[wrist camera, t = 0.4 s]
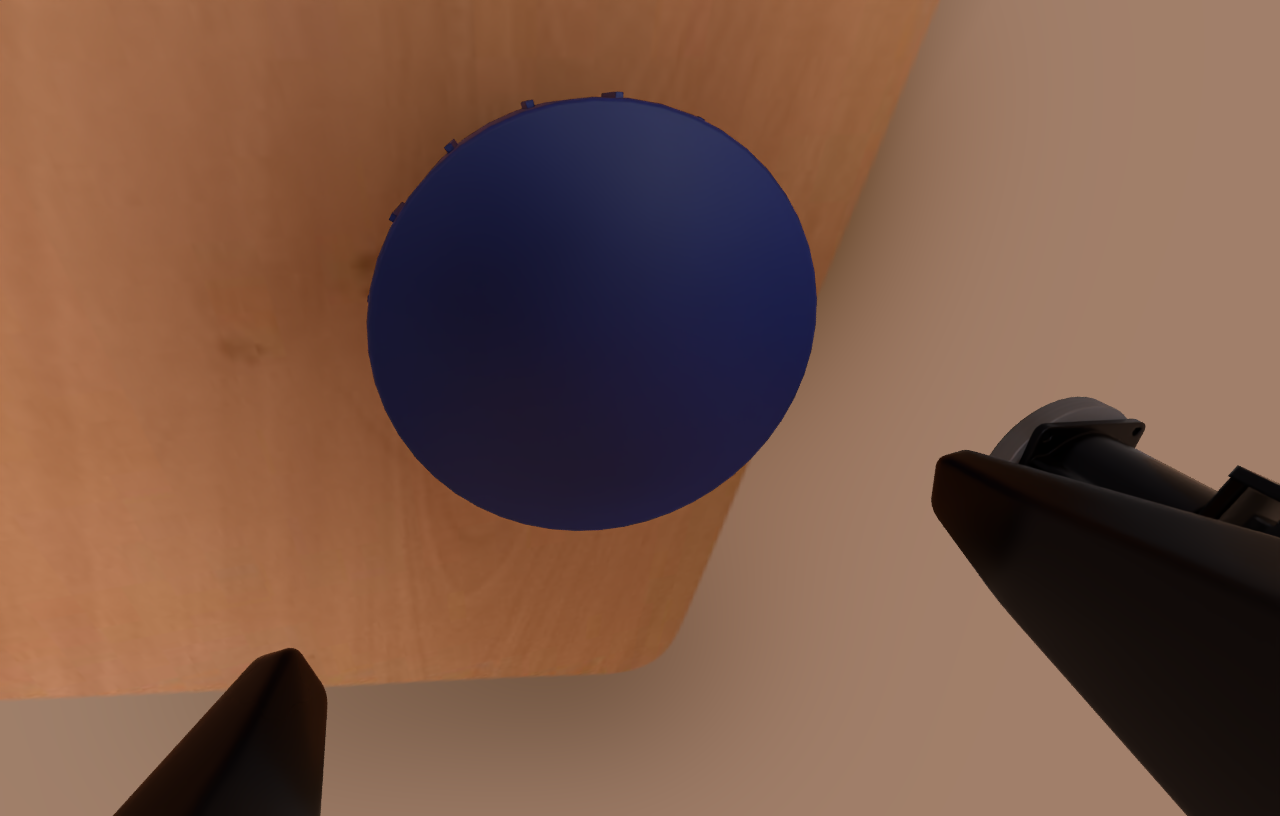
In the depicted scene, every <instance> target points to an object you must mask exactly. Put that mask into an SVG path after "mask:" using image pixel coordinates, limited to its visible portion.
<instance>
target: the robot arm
mask: <svg viewBox="0 0 1280 816" xmlns="http://www.w3.org/2000/svg"><path fill="white" fill-rule="evenodd" d="M1144 430H1145V424H1144V423H1143V422H1140V421H1138V420H1136V419H1117V420H1097V421H1076V422H1056V423H1043V424H1040V425H1039V426H1037V427H1036V428H1035V429H1034V431H1033V433H1032V435H1031V437H1030V439H1029V441H1028V444H1027V446H1026V448H1025V450H1024V453H1023V455H1022V457H1021V459H1020V462H1019V464H1017V463H1013V462H1010V461H1006V460H1003V459H999V458H995V457H992V456H988V455H985V454H981V453H978V452H974V451H970V450H962V451H958V452H955V453H951V454H948V455H945V456H942V457H941V458H940V459H939V460H938V462H937V464H936V469H935V476H934V483H933V491H932V498H931V502H932V507H933V510H934V513H935V514H936V516H937V518H938V519H939V521H940V522H941V523H942V525H943V526H944V528H945V529H946V530H947V532H948V533H949V534H950V536H951V537H952V539H953V540H954V541H955V543H956V544H957V545H958V547H959V548H960V550H961V551H962V552H963V554H964V555H965V556H966V558H967V559H968V561H969V562H970V563H971V564H972V566H973V567H974V569H975V570H976V572H977V573H978V574H979V576H980V577H981V578H982V580H983V581H984V582H985V584H986V585H987V587H988V588H989V589H990V591H991V592H992V593H993V595H994V596H995V597H996V598H997V600H998V601H999V602H1000V603H1001V605H1002V606H1003V607H1004V608H1005V609H1006V611H1007V612H1008V613H1009V614H1010V615H1011V617H1012V618H1013V619H1014V620H1015V621H1016V622H1017V623H1018V625H1019V626H1020V627H1021V628H1022V629H1023V630H1024V631H1025V632H1026V634H1028V636H1029V637H1030V638H1031V639H1032V640H1033V641H1034V643H1035V644H1036V645H1037V646H1038V647H1039V648H1040V649H1041V651H1042V652H1043V653H1044V654H1045V655H1046V656H1047V657H1048V659H1049V660H1050V661H1051V662H1052V663H1053V664H1054V665H1055V666H1056V668H1057V669H1058V670H1059V671H1060V672H1061V673H1062V674H1063V675H1064V677H1066V679H1067V680H1068V681H1069V682H1070V683H1071V685H1072V686H1073V687H1074V688H1075V689H1076V690H1077V691H1078V692H1079V694H1080V695H1081V696H1082V697H1083V698H1084V699H1085V700H1086V702H1087V703H1088V704H1089V705H1090V706H1091V707H1092V708H1093V710H1094V711H1095V712H1096V713H1097V714H1098V715H1099V716H1100V717H1101V718H1102V720H1103V721H1104V722H1105V723H1106V724H1107V725H1108V727H1109V728H1110V729H1111V730H1112V731H1113V732H1114V733H1115V734H1116V736H1117V737H1118V738H1119V739H1120V740H1121V741H1122V742H1123V744H1124V745H1125V746H1126V747H1127V748H1128V749H1129V750H1130V751H1131V753H1132V754H1133V755H1134V756H1135V757H1136V758H1137V759H1138V761H1140V763H1141V764H1142V765H1143V766H1144V767H1145V768H1146V770H1147V771H1148V772H1149V773H1150V774H1151V775H1152V776H1153V778H1154V779H1155V780H1156V781H1157V782H1158V783H1159V784H1160V785H1161V787H1162V788H1163V789H1164V790H1165V791H1166V792H1167V793H1168V795H1169V796H1170V797H1171V798H1172V799H1173V800H1174V801H1175V802H1176V804H1177V805H1178V806H1179V807H1180V808H1181V809H1182V810H1183V812H1184V813H1185V814H1186V815H1187V816H1280V484H1279V483H1277V482H1274V481H1272V480H1270V479H1268V478H1265V477H1263V476H1261V475H1259V474H1256V473H1254V472H1252V471H1249V470H1247V469H1245V468H1243V467H1241V466H1237V467H1236V468H1235V469H1234V470H1233V471H1232V472H1231V473H1230V474H1229V475H1228V476H1229V477H1230V479H1229V480H1228V481H1227V482H1226V483H1225V484H1224V485H1223V486H1222V487H1221V488H1220V489H1219V491H1216V490H1214V489H1212V488H1210V487H1208V486H1206V485H1204V484H1202V483H1200V482H1199V481H1196V480H1195V479H1193V478H1191V477H1189V476H1187V475H1185V474H1183V473H1181V472H1179V471H1177V470H1176V469H1174V468H1172V467H1170V466H1168V465H1166V464H1164V463H1162V462H1160V461H1158V460H1156V459H1154V458H1152V457H1151V456H1149V455H1147V454H1145V453H1143V452H1141V451H1139V450H1137V449H1135V447H1136V445H1137V443H1138V441H1139V439H1140V438H1141V436H1142V434H1143V432H1144ZM326 720H327V696H326V691H325V689H324V686H323V685H322V683H321V681H320V680H319V679H318V677H317V676H316V674H315V673H314V671H313V670H312V668H311V667H310V665H309V664H308V662H307V661H306V660H305V658H304V657H303V655H302V654H301V653H300V652H299V651H298V650H296V649H294V648H287V649H283V650H280V651H277V652H273V653H270V654H266V655H263V656H261V657H259V658H257V659H256V660H254V661H253V662H252V663H251V664H250V665H249V667H248V668H247V669H246V670H245V671H244V672H243V673H242V674H241V675H240V676H239V678H238V679H237V680H236V681H235V682H234V683H233V684H232V685H231V686H230V687H229V689H228V690H227V691H226V692H225V693H224V694H223V695H222V696H221V697H220V698H219V700H218V701H217V702H216V703H215V704H214V705H213V706H212V707H211V708H210V709H209V710H208V712H207V713H206V714H205V715H204V716H203V717H202V718H201V719H200V720H199V722H198V723H197V724H196V725H195V726H194V727H193V728H192V729H191V730H190V731H189V732H188V734H187V735H186V736H185V737H184V738H183V739H182V740H181V741H180V743H179V744H178V745H177V746H176V747H175V748H174V749H173V750H172V751H171V752H170V753H169V755H168V756H167V757H166V758H165V759H164V760H163V761H162V762H161V763H160V764H159V765H158V767H157V768H156V769H155V770H154V771H153V772H152V773H151V774H150V775H149V777H148V778H147V779H146V780H145V781H144V782H143V783H142V784H141V785H140V786H139V787H138V789H137V790H136V791H135V792H134V793H133V794H132V795H131V796H130V797H129V798H128V800H127V801H126V802H125V803H124V804H123V805H122V806H121V807H120V808H119V810H118V811H117V812H116V813H115V814H114V815H113V816H320V813H321V798H322V782H323V767H324V751H325V735H326Z"/></svg>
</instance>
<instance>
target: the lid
mask: <svg viewBox="0 0 1280 816" xmlns="http://www.w3.org/2000/svg"><path fill="white" fill-rule="evenodd" d="M521 106H522V109H520V110H516V111H514V112H512V113H509V114H507V115H505V116H503V117H501V118H498V119H496V120H494V121H492V122H489V123H488V124H486V125H484V126H483V127H481V128H480V129H478V130H477V131H475V132H474V133H472V134H471V135H469V136H467V137H466V138H464V139H463V140H462V141H461V142H459V143H457V142H456V141H455V140H454V139H453V140H452V141H450V142H449V143H448V144H447V145H446V146H445V147H444V148H445V150H446V151H447V152H448V153H447V154H446V155H445V156H444V157H442V158H441V159H440V160H439V161H438V163H437V164H436V165H435V166H434V167H433V168H432V170H431V171H430V172H429V173H428V174H427V176H426V177H425V178H424V179H423V180H422V182H421V183H420V184H419V185H418V186H417V188H416V189H415V190H414V191H413V192H412V194H411V195H410V196H409V197H408V199H407V200H406V202H405V203H403V202H401V204H400V205H399V206H398V207H397V208H396V209H395V210H394V212H393V213H392V214H391V216H390V218H389V220H390V221H392V222H393V223H392V225H391V227H390V229H389V232H388V234H387V236H386V239H385V241H384V244H383V246H382V248H381V251H380V253H379V256H378V258H377V262H376V266H375V270H374V274H373V278H372V282H371V286H370V290H369V295H368V300H367V302H368V312H367V337H368V353H369V358H370V363H371V367H372V372H373V377H374V382H375V385H376V387H377V390H378V393H379V395H380V398H381V401H382V403H383V406H384V409H385V411H386V413H387V415H388V416H389V418H390V420H391V422H392V424H393V426H394V427H395V429H396V431H397V433H398V435H399V436H400V437H401V439H402V440H403V441H404V443H405V444H406V445H407V447H408V448H409V449H410V451H411V452H412V453H413V455H414V456H415V457H416V459H417V460H418V461H419V462H420V463H421V464H422V465H423V466H424V467H425V468H426V469H427V470H428V471H429V472H430V473H431V474H432V475H433V476H434V477H435V478H437V479H438V480H439V481H440V482H442V483H443V484H444V485H446V486H447V487H448V488H449V489H451V490H452V491H453V492H454V493H456V494H457V495H459V496H461V497H463V498H464V499H466V500H468V501H469V502H471V503H473V504H474V505H476V506H478V507H480V508H482V509H484V510H487V511H489V512H491V513H493V514H496V515H498V516H500V517H503V518H506V519H510V520H513V521H516V522H519V523H523V524H526V525H531V526H537V527H542V528H548V529H557V530H571V531H585V530H603V529H611V528H618V527H625V526H629V525H633V524H637V523H641V522H645V521H649V520H652V519H654V518H657V517H660V516H663V515H666V514H668V513H671V512H673V511H675V510H678V509H680V508H682V507H684V506H686V505H688V504H690V503H692V502H694V501H696V500H697V499H699V498H701V497H702V496H704V495H706V494H707V493H709V492H711V491H712V490H714V489H715V488H717V487H718V486H719V485H721V484H722V483H723V482H725V481H726V480H727V479H729V478H730V477H731V476H733V475H734V474H735V473H736V472H737V471H738V470H739V469H740V468H742V467H743V466H744V465H745V464H746V463H747V462H748V461H749V460H750V459H751V458H752V457H753V456H754V455H755V454H756V453H757V451H758V450H759V449H760V448H761V447H762V446H763V445H764V444H765V442H766V441H767V440H768V439H769V437H770V436H771V435H772V433H773V432H774V430H775V429H776V428H777V426H778V425H779V423H780V422H781V421H782V419H783V417H784V415H785V414H786V412H787V410H788V408H789V407H790V405H791V403H792V401H793V399H794V397H795V395H796V393H797V390H798V388H799V386H800V383H801V381H802V379H803V376H804V373H805V370H806V367H807V363H808V360H809V356H810V353H811V349H812V343H813V337H814V331H815V325H816V305H817V296H816V283H815V272H814V267H813V263H812V258H811V254H810V249H809V245H808V242H807V239H806V237H805V234H804V231H803V228H802V226H801V223H800V220H799V218H798V216H797V214H796V212H795V210H794V209H793V207H792V205H791V203H790V201H789V199H788V197H787V195H786V194H785V192H784V191H783V190H782V188H781V187H780V185H779V184H778V183H777V181H776V180H775V179H774V177H773V176H772V175H771V173H770V172H769V171H768V169H767V168H766V167H765V166H764V165H763V164H762V163H761V162H760V161H759V160H758V159H757V158H756V157H755V156H754V155H753V154H752V153H751V152H750V151H749V150H748V149H747V148H745V147H744V146H743V145H741V144H740V143H739V142H737V141H736V140H734V139H733V138H732V137H730V136H729V135H728V134H726V133H725V132H724V131H722V130H721V129H719V128H717V127H715V126H713V125H711V124H709V123H707V122H706V121H705V120H704V119H703V118H701V117H699V116H694V115H692V114H689V113H686V112H683V111H680V110H677V109H674V108H672V107H669V106H666V105H663V104H659V103H653V102H648V101H642V100H637V99H631V98H623V92H609V93H602V96H601V97H587V98H577V99H569V100H561V101H553V102H545V103H541V104H538V105H534V102H533V100H527V101H524V102H521Z"/></svg>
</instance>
